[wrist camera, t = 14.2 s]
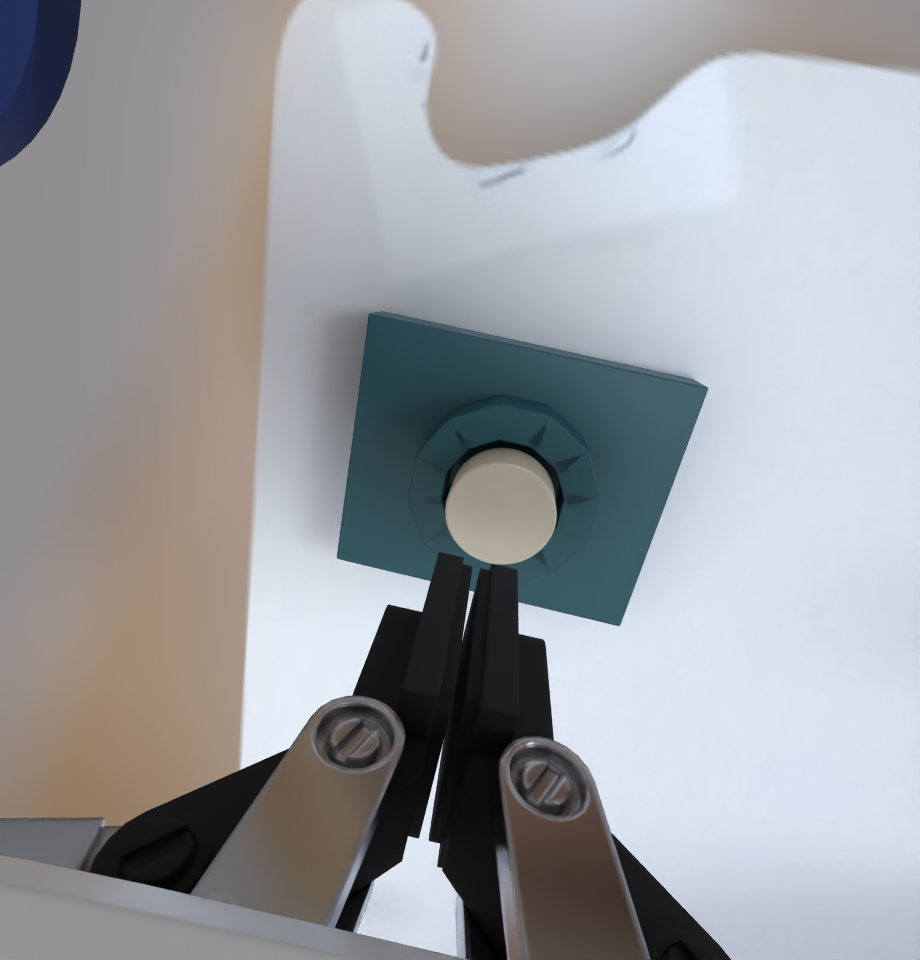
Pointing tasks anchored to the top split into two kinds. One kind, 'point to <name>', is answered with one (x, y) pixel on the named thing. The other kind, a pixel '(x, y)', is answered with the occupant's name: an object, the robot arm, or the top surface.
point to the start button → (501, 506)
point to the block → (521, 426)
